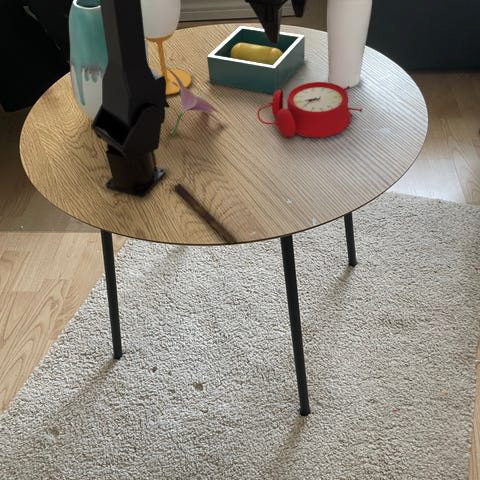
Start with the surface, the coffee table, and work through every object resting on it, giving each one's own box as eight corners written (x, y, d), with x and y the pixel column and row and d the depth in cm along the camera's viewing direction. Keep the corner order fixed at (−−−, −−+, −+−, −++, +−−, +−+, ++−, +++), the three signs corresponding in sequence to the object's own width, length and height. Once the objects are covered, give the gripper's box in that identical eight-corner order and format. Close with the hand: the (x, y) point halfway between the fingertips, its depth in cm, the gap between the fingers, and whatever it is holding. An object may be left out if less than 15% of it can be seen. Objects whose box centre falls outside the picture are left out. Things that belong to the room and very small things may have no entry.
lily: (222, 156, 91) (241, 92, 86) (146, 135, 87) (161, 67, 83) (213, 137, 101) (229, 79, 97) (144, 118, 98) (158, 57, 93)
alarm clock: (368, 110, 88) (270, 103, 84) (355, 148, 92) (262, 142, 89) (349, 77, 94) (257, 69, 91) (338, 114, 99) (250, 107, 96)
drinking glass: (316, 79, 102) (319, -15, 91) (350, 69, 104) (357, -25, 93) (336, 96, 98) (343, -1, 87) (371, 85, 100) (382, -11, 88)
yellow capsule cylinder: (279, 79, 102) (278, 57, 99) (227, 70, 105) (225, 48, 102) (288, 67, 104) (287, 45, 101) (237, 58, 107) (235, 36, 104)
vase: (165, 106, 99) (145, -9, 85) (118, 141, 93) (89, 22, 79) (113, 90, 104) (87, -22, 90) (66, 122, 98) (30, 7, 84)
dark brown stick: (180, 185, 85) (174, 188, 84) (179, 183, 84) (173, 186, 84) (236, 242, 76) (230, 245, 76) (236, 239, 76) (229, 242, 75)
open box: (275, 95, 100) (274, 68, 96) (209, 82, 104) (206, 56, 100) (304, 61, 107) (304, 35, 103) (241, 51, 111) (240, 25, 108)
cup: (202, 80, 104) (190, -20, 92) (163, 101, 100) (146, 0, 88) (168, 65, 109) (152, -32, 97) (129, 85, 105) (108, -13, 93)
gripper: (318, -66, 69) (314, 66, 80) (370, -111, 79) (359, 11, 91) (232, -74, 72) (240, 54, 84) (293, -116, 83) (292, 2, 95)
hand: (287, 29), depth 88 cm, fingers open, 9 cm apart
